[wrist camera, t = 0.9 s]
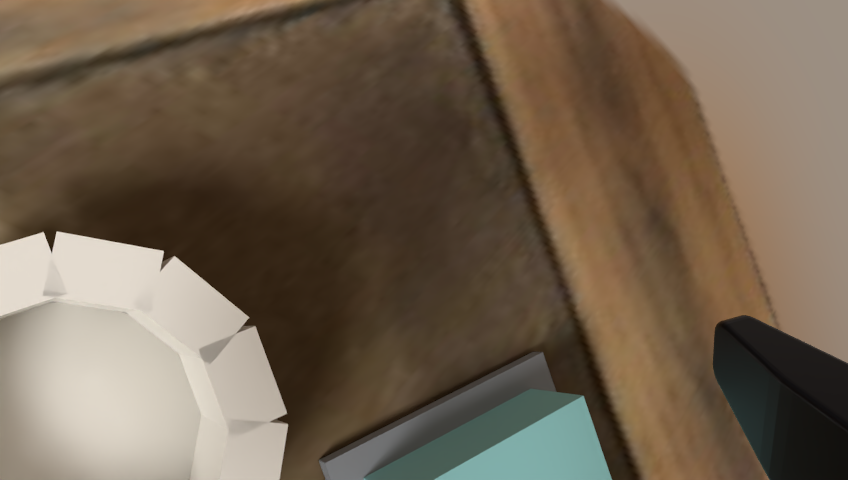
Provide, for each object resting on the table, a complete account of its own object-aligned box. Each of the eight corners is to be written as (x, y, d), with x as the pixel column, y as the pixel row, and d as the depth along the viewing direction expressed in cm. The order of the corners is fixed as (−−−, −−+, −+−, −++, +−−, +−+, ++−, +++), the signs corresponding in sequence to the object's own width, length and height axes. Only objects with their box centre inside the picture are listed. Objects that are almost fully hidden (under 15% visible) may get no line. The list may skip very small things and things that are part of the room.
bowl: (286, 511, 24) (336, 549, 20) (-76, 703, 19) (-106, 802, 15) (174, 208, 23) (203, 184, 19) (-228, 331, 19) (-300, 334, 15)
